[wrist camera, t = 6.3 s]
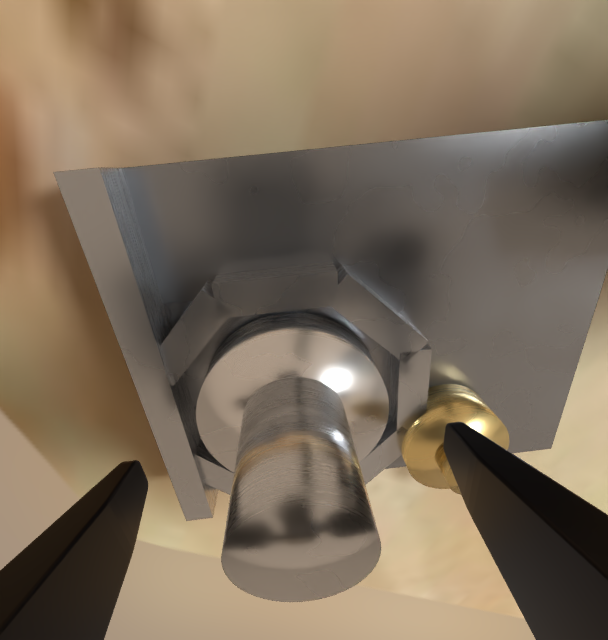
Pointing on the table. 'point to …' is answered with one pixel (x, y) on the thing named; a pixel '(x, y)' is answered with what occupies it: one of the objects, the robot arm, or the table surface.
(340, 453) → the silver metal knob
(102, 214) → the plate
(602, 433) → the table surface
